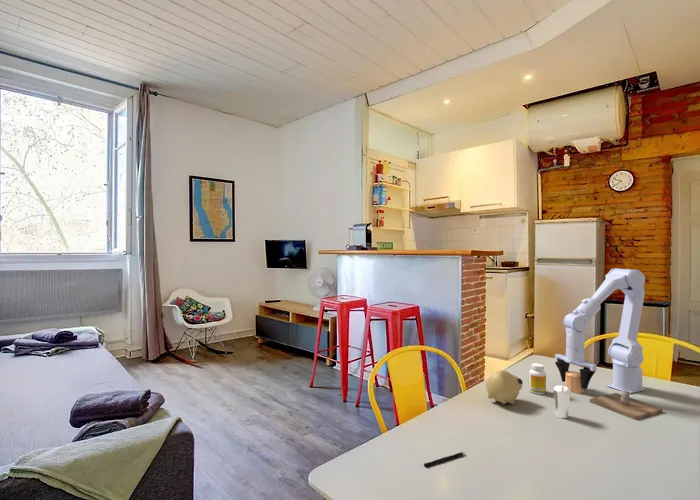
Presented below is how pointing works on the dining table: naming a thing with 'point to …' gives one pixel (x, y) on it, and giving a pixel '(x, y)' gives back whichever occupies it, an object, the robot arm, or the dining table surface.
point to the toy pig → (503, 386)
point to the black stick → (443, 459)
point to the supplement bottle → (537, 379)
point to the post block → (626, 405)
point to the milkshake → (562, 400)
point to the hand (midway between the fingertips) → (574, 384)
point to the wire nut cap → (573, 381)
